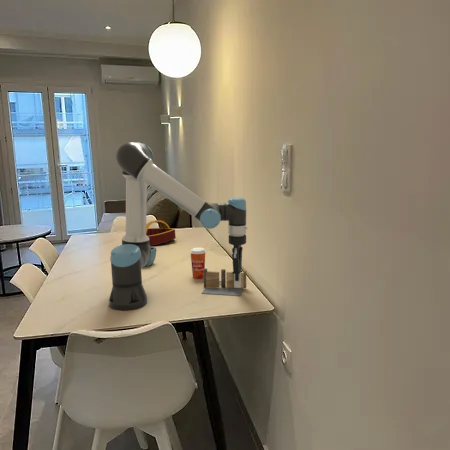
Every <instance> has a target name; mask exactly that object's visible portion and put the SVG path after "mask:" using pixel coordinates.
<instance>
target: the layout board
mask: <svg viewBox="0 0 450 450" xmlns="http://www.w3.org/2000/svg"><path fill="white" fill-rule="evenodd" d="M243 290H244V288H231V287H225V288H221V280H219V287H204V289H203V290H202V292H201V294H204V295H217V296H219V295H220V296H231V297H233V296H234V297H242V296H241V295H242V293H243Z"/></svg>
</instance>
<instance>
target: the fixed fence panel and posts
mask: <svg viewBox="0 0 450 450" xmlns="http://www.w3.org/2000/svg"><path fill="white" fill-rule="evenodd" d="M226 272H227V270H226V269H224V268H223V269H221V270H220V271H213V270H212V271H211V270H208V268H205V269H204V278H203V288H205V287H219V281H221V288H225V287H226ZM220 277H221V278H220Z"/></svg>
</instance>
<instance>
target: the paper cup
mask: <svg viewBox="0 0 450 450" xmlns="http://www.w3.org/2000/svg"><path fill="white" fill-rule="evenodd" d="M189 253H190V261H191V273H192V278H193V279H196V280H200V279H204V269H205V267H206V266H205V264H206V253H207V251H206V249H205V248H203V247H193V248H191V249H190V252H189Z"/></svg>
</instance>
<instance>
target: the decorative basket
mask: <svg viewBox="0 0 450 450" xmlns="http://www.w3.org/2000/svg"><path fill="white" fill-rule="evenodd" d="M154 223H157V224H160V225H161V226H162V227H156V228H155V227H152V228H150V226H151V225H153V224H154ZM146 235H147V236H148V237H149V245H150V247H152V246H155V245H160V244H164V243H167V242H170V241H173V240H175V239H176V228H170V226H169V225H168V223H167V222H165V221H163V220H160V219H156V220H152V221H150V222H148V223H147V222H146Z"/></svg>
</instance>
